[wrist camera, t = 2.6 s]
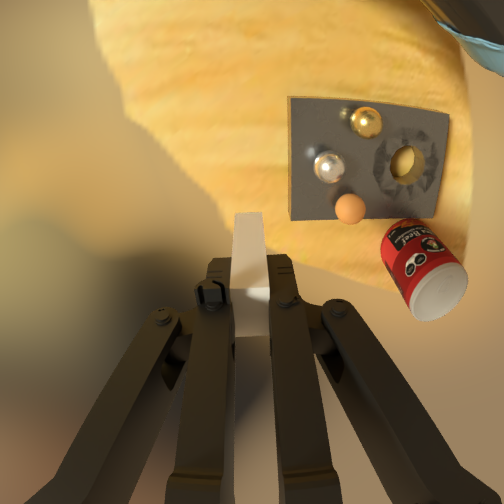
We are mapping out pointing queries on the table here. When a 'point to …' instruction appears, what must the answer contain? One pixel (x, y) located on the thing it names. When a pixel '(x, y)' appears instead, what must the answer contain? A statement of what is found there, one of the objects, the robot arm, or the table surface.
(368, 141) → the bearing plate
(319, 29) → the table surface
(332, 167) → the steel ball
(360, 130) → the brass ball
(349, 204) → the orange ball
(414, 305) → the canned food
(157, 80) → the table surface
